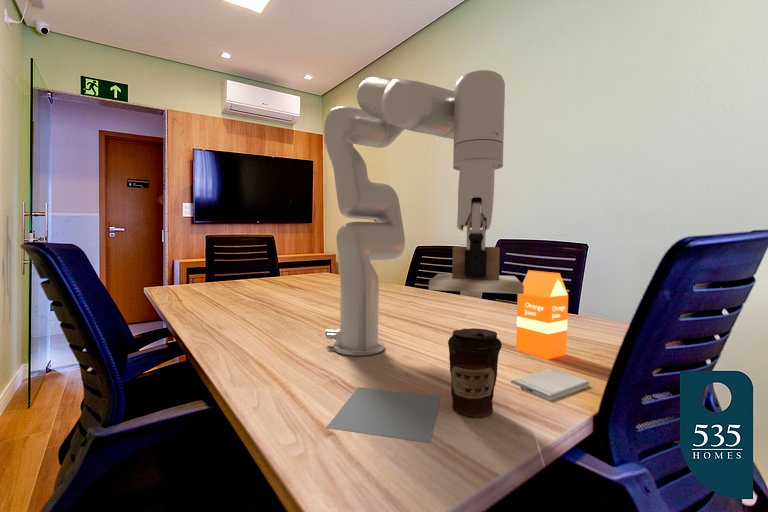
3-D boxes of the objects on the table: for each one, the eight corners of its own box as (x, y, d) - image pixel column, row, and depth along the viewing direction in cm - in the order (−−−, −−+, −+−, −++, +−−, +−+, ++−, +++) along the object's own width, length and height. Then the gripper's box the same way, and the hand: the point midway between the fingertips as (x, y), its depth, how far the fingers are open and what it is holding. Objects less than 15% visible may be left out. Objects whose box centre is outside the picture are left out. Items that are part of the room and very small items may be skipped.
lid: (428, 289, 53) (429, 247, 53) (438, 280, 66) (438, 245, 66) (523, 294, 50) (524, 248, 50) (514, 283, 63) (515, 246, 63)
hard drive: (550, 367, 77) (510, 378, 70) (589, 380, 70) (549, 394, 64) (549, 375, 77) (510, 387, 71) (589, 389, 70) (549, 404, 64)
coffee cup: (502, 428, 54) (505, 341, 53) (445, 422, 56) (447, 337, 55) (496, 402, 63) (499, 327, 62) (447, 397, 64) (449, 324, 64)
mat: (326, 430, 53) (326, 427, 53) (358, 389, 68) (358, 386, 68) (429, 445, 49) (429, 442, 49) (440, 398, 64) (440, 396, 64)
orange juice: (547, 359, 85) (550, 273, 84) (515, 349, 93) (517, 270, 92) (566, 354, 90) (569, 272, 89) (534, 345, 97) (537, 269, 96)
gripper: (456, 168, 66) (454, 270, 67) (449, 146, 50) (446, 280, 51) (500, 167, 64) (497, 272, 65) (507, 143, 48) (503, 282, 49)
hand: (475, 274), depth 58 cm, fingers closed on lid, 2 cm apart
